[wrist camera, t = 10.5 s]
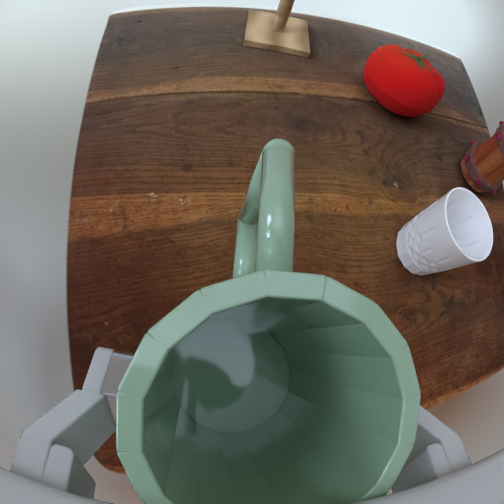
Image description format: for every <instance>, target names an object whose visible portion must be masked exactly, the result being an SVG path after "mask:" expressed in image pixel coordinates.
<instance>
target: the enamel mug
mask: <svg viewBox="0 0 504 504" xmlns="http://www.w3.org/2000/svg"><path fill="white" fill-rule="evenodd" d="M294 221H295V150H294V148H293V146H292V145H291V144H290V143H289V142H288V141H286V140H284V139H279V138H278V139H273V140H271V141H269V142H268V143H267V144H266V145H265V146H264V148H263V151H262V153H261V156H260V158H259V161H258V164H257V166H256V169H255V171H254V174H253V177H252V179H251V182H250V185H249V187H248V190H247V192H246V195H245V198H244V200H243V203H242V206H241V208H240V211H239V214H238V219H237V230H236V242H235V254H234V267H233V278H232V279H229V280H226V281H222V282H219V283H216V284H212V285H209V286H205V287H203V288H201V290H197V291H195V292H194V293H193V294H192V295H190V296H189V297H188V298H187V299H185V300H184V301H183V302H182V303H181V304H179V305H178V306H177V307H176V308H174V309H173V310H172V311H171V312H169V313H168V314H167V315H166V316H165V317H163V318H162V319H161V320H160V321H158V322H157V323H156V324H155V325H153V326H152V327H151V328H150V329H149V330H148V333H146V334H145V335H144V336H143V338H142V340H141V342H140V344H139V346H138V348H137V350H136V352H135V354H134V356H133V358H132V360H131V362H130V364H129V366H128V368H127V370H126V372H125V374H124V376H123V378H122V380H121V382H120V384H119V386H118V391H117V393H116V449H117V451H118V452H117V454H118V456H119V459H120V461H121V463H122V465H123V467H124V469H125V471H126V473H127V475H128V477H129V479H130V481H131V483H132V485H133V487H134V489H135V491H136V493H137V495H138V496H139V498H140V500H141V502H142V503H144V504H351V503H356V502H361V501H365V500H369V499H373V498H377V497H381V496H385V495H386V494H387V493H388V492H389V489H391V488H392V487H393V485H394V483H395V481H396V479H397V478H398V476H399V474H400V472H401V470H402V468H403V466H404V464H405V462H406V460H407V458H408V456H409V454H410V452H411V450H412V448H413V446H414V444H413V443H414V442H415V438H416V431H417V424H418V416H419V407H420V398H421V395H420V394H419V393H420V387H419V383H418V379H417V375H416V371H415V367H414V363H413V360H412V356H411V352H410V349H409V346H408V345H407V342H406V340H405V339H404V338H403V336H402V335H401V334H400V332H399V331H398V330H397V329H396V327H395V326H394V325H393V323H392V322H391V321H390V319H389V318H388V317H387V316H386V314H385V313H384V312H383V310H382V309H381V308H380V307H379V305H378V304H376V303H375V302H374V301H372V300H371V299H369V298H367V297H365V296H363V295H361V294H360V293H358V292H356V291H354V290H352V289H351V288H349V287H347V286H345V285H343V284H341V283H340V282H338V281H336V280H334V279H332V278H330V277H328V276H325V275H321V274H310V273H300V272H293V259H294Z"/></svg>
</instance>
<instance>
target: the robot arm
mask: <svg viewBox="0 0 504 504" xmlns="http://www.w3.org/2000/svg"><path fill="white" fill-rule="evenodd" d="M134 354H135V353H132V352H126V351H120V350H114V349H109V348H103V347H98V348H97V349H96V350H95V353H94V355H93V358H92V361H91V364H90V367H89V370H88V373H87V376H86V379H85V382H84V385H83V388H82V390H78V389H77V390H76V391H74V392H73V393H72V394H71V395H69V396H68V397H67V398H65V399H64V400H63V401H61V402H60V403H59V404H58V405H56V406H55V407H54V408H52V409H51V410H50V411H48V412H47V413H46V414H45V415H43V416H42V417H41V418H39V419H38V420H37V421H35V422H34V423H33V424H32V425H31V426H29V427H28V428H26V429H25V430H24V431H23V432H22V435H21V438H20V440H19V443H18V447H17V450H16V453H15V456H14V460H13V463H12V466H11V470H10V471H8V470H6V469H3V468H1V467H0V504H112V503H108V502H103V501H99V500H95V499H93V498H94V490H95V481H94V480H93V478H92V477H91V476H90V475H89V473H88V472H87V471H86V469H85V468H84V467H83V465H84V464H85V463H86V462H87V461H88V460H89V459H90V458H91V456H92V455H93V454H94V453H95V452H96V451H97V450H98V449H99V448H100V447H101V446H102V445H103V444H104V443H105V441H106V440H107V439H108V438H109V437H110V436H111V435H112V434H113V433H114V432H115V431H116V393H117V391H118V386H119V384H120V382H121V380H122V378H123V376H124V374H125V372H126V370H127V368H128V366H129V364H130V362H131V360H132V358H133V356H134ZM413 444H414V446H413V448H412V450H411V452H410V454H409V456H408V458H407V460H406V462H405V464H404V466H403V468H402V470H401V472H400V474H399V476H398V478H397V479H396V481H395V483H394V485H393V487H392V492H393V493H392V494H389V495H385V496H381V497H377V498H373V499H369V500H365V501H361V502H356V503H351V504H504V449H502V450H500V451H498V452H496V453H494V454H492V455H490V456H488V457H486V458H485V459H482V460H480V461H478V462H476V463H474V464H472V463H471V461H470V459H469V456H468V454H467V452H466V449H465V447H464V445H463V443H462V441H461V439H460V436H459V435H458V434H457V433H456V432H454V431H453V430H452V429H450V428H449V427H448V426H446V425H445V424H444V423H442V422H441V421H440V420H438V419H437V418H436V417H435V416H433V415H432V414H431V413H429V412H428V411H427V410H425V409H424V408H423V407H421V406H420V407H419V416H418V424H417V431H416V438H415V442H414V443H413Z"/></svg>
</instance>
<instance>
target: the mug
mask: <svg viewBox="0 0 504 504" xmlns="http://www.w3.org/2000/svg"><path fill="white" fill-rule="evenodd" d="M499 124H500V125H499V127H498V128H497V130H496V133H495V134H494V135H493V136H492V137H491V138H490V139H489V140H488V141H486V142H485V143H483V144H480V143H477V142H476V141H472V142H471V147H470V148H469V149H468V150H467V152H466V154H465V155H464V158H463V159H462V160H461V170H462V173H463V176H464V178H465V180H466V181H467V183H468V184H469V186H471V187H472V189H473V190H475V191H476V192H479V193H480V192H481V193H482V192H484V191H485V192H491V193H492V194H496V193H497V189H498V188H499V187H500V186H501V183H502V181H503V180H504V122H503V121H500V123H499Z"/></svg>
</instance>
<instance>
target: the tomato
mask: <svg viewBox="0 0 504 504" xmlns="http://www.w3.org/2000/svg"><path fill="white" fill-rule="evenodd" d="M397 44H398V43H397ZM398 45H399V44H398ZM399 46H400V45H399ZM399 46H397V45H392V44H390V45H386V46H382V47H380V48H377V49H376V50H375V51H374V52H373V53H372V54H371V55H370V56H369V58H368V60H367V62H366V64H365V67H364V71H363V76H364V83H365V84H366V86H367V88H368V90H369V92H370V93H371V94H372V95H373V96H374V97H375V99H376V100H377V101H378V102H379V104H380V105H382V106H383V107H384V108H386V109H387V110H389V111H392V112H394V113H396V114H399V115H404V116H408V117H411V116H419V115H422V114H425V113H427V112H430V111H431V110H432V109H433V108H434V107H435V106H436V104H437V103H438V102H439V101H440V99H441V97H442V96H443V94H444V90H445V83H444V80H443V78H442V76H441V74H440V73H439V72H438V71H437V70H435V69H434V68H433V67H432V66H431V65H430V63H429V61H428V60H427V59H426V57H427V56H428V55H425V56H423V55H421V54H420V53H418V52H415V51H413V50H412V49H407V48H405V49H403V48H404V47H403V48H401V47H402V46H401V47H399Z"/></svg>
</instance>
